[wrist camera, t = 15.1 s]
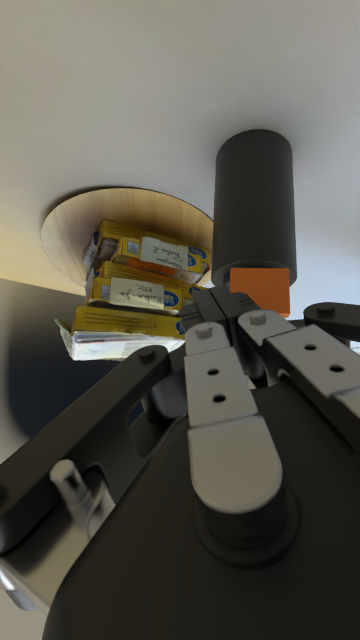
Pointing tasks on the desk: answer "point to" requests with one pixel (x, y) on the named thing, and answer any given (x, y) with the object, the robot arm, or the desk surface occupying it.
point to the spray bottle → (253, 206)
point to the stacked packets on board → (128, 268)
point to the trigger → (264, 287)
